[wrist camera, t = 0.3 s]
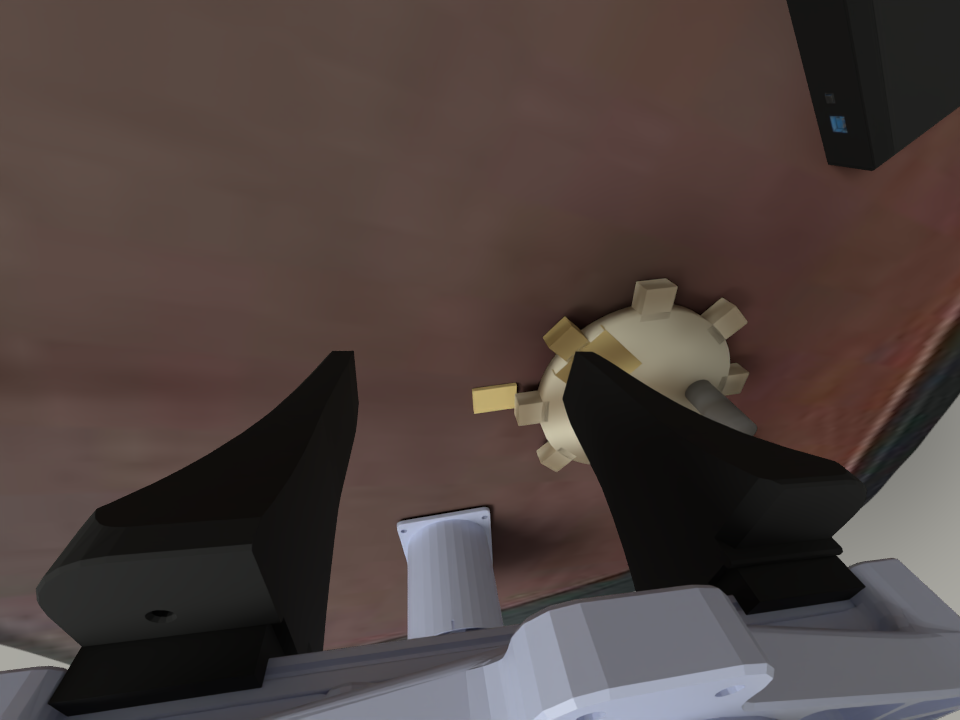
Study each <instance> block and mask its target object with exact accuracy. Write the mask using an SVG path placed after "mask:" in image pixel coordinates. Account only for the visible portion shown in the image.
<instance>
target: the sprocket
mask: <svg viewBox="0 0 960 720" xmlns="http://www.w3.org/2000/svg"><path fill="white" fill-rule="evenodd" d="M677 288H678V286H676V285H675V284H673V283H672V282H670V281H669V280H668V279H666V278H664V279H655V280H646V281H637V282H636V286H635V291H634V296H633V301H632V306H630V307H627V308H624V309H620V310H617V311H615V312H613V313H610V314H608V315H605V316H603V317H602V318H600V319H598V320H596V321H594V322H592V323H591V324H589V325H588V326H586V327H585V328H583V329H582V330H580V329H579V328H578V327H577V326H575V325H574V324H573V323H572V322H571V321H570V320H569V319H567V318H566V317H565V316H564V317H563V318H562V319H561V320H560V321H559V322H558V323H557V324H556V325H555V326H554V327H553V328H552V329H551V330H550V331H549V332H548V333H547V334H546V335H545V336H544V337H543V339H544V340H545V342H546V344H547V346H548V347H549V348H550V349H551V350H552V351H553V352H555V353H556V355H555V356H554V358H553V359H552V360H551V362H550V363H549V365H548V367H547V368H546V370H545V372H544V374H543V377H542V379H541V381H540V384H539V388H538V391H531V392H523V393H516V394H515V417H516V419H517V422H518V425H519V426H522V425H529V424H536V423H540V424H541V426H542V429H543V431H544V433H545V436H546V438H547V440H548V442H547V443H546V444H544V445H543V446H542V447H541V448H539V449H538V450H537V454H538V457H539V460H540V462H541V464H543V465H545V466H546V467H548V468H550V469H552V470H554V471H556V472H557V471H559V470H560V469H561V468H563V467H564V466H565V465H566V464H568V463H569V462H570V461H571V460H574V461H577V462H580V463H585V464H590V462H589V460H588V458H587V456H586V455H585V453H584V451H583V449H582V447H581V445H580V443H579V441H578V439H577V437H576V434H575V432H574V430H573V428H572V426H571V424H570V421H569V419H568V416H567V413H566V410H565V406H564V403H563V400H562V398H563V394H564V390H565V387H566V383H567V380H568V376H569V373H570V369H571V366H572V362H573V358H574V355H575V351H586V352H594V353H596V354H598V355H600V356H602V357H603V358H605V359H607V360H608V361H610V362H611V363H613V364H615V365H616V366H618V367H619V368H621V369H622V370H624V371H625V372H627V373H628V374H630V375H632V376H633V377H635V378H636V379H638V380H639V381H641V382H643V383H644V384H646V385H647V386H649V387H651V388H652V389H654V390H656V391H657V392H659V393H661V394H663V395H664V396H666V397H668V398H670V399H671V400H673V401H675V402H677V403H679V404H681V405H682V406H684V407H686V408H688V409H690V410H693V411H695V412H697V413H699V414H701V415H703V416H705V417H707V418H709V419H711V420H714V421H716V422H718V423H721V424H723V425H726V426H728V427H730V428H733V429H735V430H738V431H740V432H743V433H746V434H748V435H751V436H753V435H754V434H755V433H756V431H757V426H756V425H755V424H754V423H753V422H752V421H751V420H750V419H749V418H748V417H747V416H746V415H745V414H744V413H742V412H741V411H740V410H739V409H738V408H737V407H736V406H735V405H734V404H733V403H732V402H731V401H730V400H728V399H727V398H726V397H725V395H732V394H739V393H741V390H742V388H743V386H744V384H745V381H746V379H747V377H748V375H749V372H748V371H746V370H745V369H744V368H743V367H741V366H740V365H739V364H738V363H732V364H730V354H729V348H728V346H727V343H726V339H727V338H729V337H730V336H731V335H733V334H734V333H735V332H736V331H738V330H739V329H740V328H742V327H743V326H744V325H745V324H747V323H748V322H747V321H746V319H745V318H744V316H743V315H742V314H741V312H740V311H739V310H738V308H737V307H736V306H735V305H733V304H732V303H730V302H729V301H727V300H725V299H724V298H721V299H720V300H718V301H717V302H716V303H715V304H714V305H712V306H711V307H710V308H709V309H708V310H706V311H705V312H704V313H703V314H701V315H699V314H697V313H696V312H694V311H693V310H690V309H688V308H685V307H683V306H679V305H675V304H673V303H674V299H675V295H676V292H677Z"/></svg>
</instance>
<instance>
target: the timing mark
mask: <svg viewBox="0 0 960 720" xmlns="http://www.w3.org/2000/svg"><path fill="white" fill-rule="evenodd" d="M472 393H473V406H474V414H475V413H482V412H489V411H496V410H503V409H510V408H515V394H516V393H517V385H516V383H510V384H503V385H495V386H488V387H481V388H473V389H472Z"/></svg>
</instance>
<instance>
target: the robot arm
mask: <svg viewBox="0 0 960 720" xmlns="http://www.w3.org/2000/svg"><path fill="white" fill-rule="evenodd" d="M562 400H563V403H564V406H565V410H566V413H567V416H568V419H569V421H570V424H571V426H572V428H573V430H574V432H575V434H576V437H577V439H578V441H579V443H580V445H581V447H582V449H583V451H584V453H585V455H586V456H587V458H588V460H589V462H590V464H591V466H592V468H593V470H594V472H595V474H596V476H597V478H598V481H599V483H600V485H601V487H602V490H603V492H604V495H605V497H606V500H607V503H608V505H609V508H610V511H611V514H612V516H613V519H614V522H615V525H616V528H617V531H618V534H619V537H620V540H621V543H622V546H623V549H624V552H625V556H626V559H627V562H628V566H629V569H630V572H631V576H632V579H633V583H634V587H635V590H636V592H630V593H623V594H615V595H607V596H599V597H591V598H584V599H576V600H572V601H568V602H564V603H560V604H556V605H552V606H548V607H546V608H545V609H543V610H541V611H539V612H537V613H535V614H533V615H531V616H529V617H527V618H526V619H525V620H524V621H523V623H522V624H517V625H509V626H503V620H502V615H501V609H500V604H499V598H498V593H497V587H496V582H495V577H494V571H493V566H492V564H493V558H492V539H491V520H490V510H489V508H488V507H480V508H474V509H468V510H463V511H457V512H451V513H445V514H439V515H433V516H427V517H421V518H415V519H409V520H403V521H400V522H398V523H397V530H398V533H399V537H400V540H401V543H402V547H403V550H404V553H405V557H406V560H407V563H408V639H407V640H400V641H392V642H385V643H378V644H371V645H363V646H356V647H349V648H341V649H334V650H327V651H323V643H324V633H325V622H326V611H327V602H328V592H329V582H330V573H331V564H332V556H333V547H334V539H335V531H336V523H337V515H338V508H339V502H340V497H341V492H342V488H343V484H344V480H345V475H346V471H347V467H348V463H349V459H350V454H351V450H352V446H353V442H354V437H355V433H356V425H357V416H358V405H359V401H358V391H357V380H356V370H355V359H354V351H332V352H331V353H330V354H329V355H328V356H327V357H326V358H325V359H324V360H323V361H322V363H321V364H320V365H319V366H318V367H317V368H316V369H315V370H314V371H313V372H312V373H311V374H310V375H309V377H308V378H307V379H306V380H305V381H304V382H303V383H302V384H301V385H300V386H299V387H298V388H297V389H296V390H295V391H293V392H292V393H291V394H290V395H289V396H288V397H287V398H286V399H285V400H284V401H282V402H281V403H280V404H279V405H278V406H277V407H276V408H275V409H273V410H272V411H271V412H270V413H269V414H267V415H266V416H265V417H264V418H262V419H261V420H260V421H258V422H257V423H255V424H254V425H253V426H251V427H250V428H249V429H247V430H246V431H244V432H243V433H241V434H240V435H238V436H237V437H235V438H233V439H232V440H230V441H229V442H227V443H226V444H224V445H222V446H221V447H219V448H218V449H216V450H214V451H213V452H211V453H210V454H208V455H206V456H204V457H203V458H201V459H199V460H197V461H196V462H194V463H192V464H190V465H188V466H186V467H185V468H183V469H181V470H179V471H177V472H175V473H173V474H171V475H169V476H167V477H165V478H163V479H161V480H159V481H157V482H155V483H153V484H151V485H149V486H147V487H144V488H142V489H140V490H138V491H136V492H133V493H131V494H129V495H127V496H125V497H122V498H120V499H118V500H116V501H114V502H111V503H109V504H107V505H104V506H102V507H100V508H97V509H96V510H95V512H94V513H93V514H92V515H91V516H90V517H89V519H88V520H87V521H86V522H85V524H84V525H83V526H82V527H81V528H80V530H79V531H78V532H77V534H76V535H75V536H74V537H73V539H72V540H71V541H70V543H69V544H68V545H67V547H66V548H65V549H64V551H63V552H62V553H61V555H60V556H59V557H58V559H57V560H56V561H55V562H54V564H53V565H52V566H51V568H50V569H49V570H48V572H47V573H46V574H45V576H44V577H43V578H42V580H41V582H40V583H39V585H38V586H37V588H36V595H37V601H38V604H39V605H40V607H41V608H42V609H43V611H44V612H45V613H46V615H47V616H48V617H49V618H51V619H52V620H53V621H54V622H55V623H56V624H57V625H58V626H60V627H61V628H62V629H63V630H64V631H65V632H66V633H67V634H68V635H70V636H71V637H72V638H73V639H74V640H75V641H76V642H77V643H79V644H80V645H81V646H82V647H81V649H80V650H79V652H78V654H77V655H76V657H75V659H74V660H73V662H72V664H71V665H70V667H69V669H68V670H67V669H64V668H60V667H53V666H41V667H31V668H24V669H15V670H7V671H0V720H937V719H939V718H941V717H944V716H946V715H948V714H951V713H953V712H956V711H958V710H960V617H959V615H957V614H956V613H955V612H954V611H953V610H952V609H951V608H950V607H949V606H948V605H947V604H946V603H944V602H943V601H942V600H941V599H940V598H939V597H938V596H937V595H936V594H935V593H934V592H933V591H932V590H930V589H929V588H928V587H927V586H926V585H925V584H924V583H923V582H922V581H921V580H920V579H919V578H918V577H916V576H915V575H914V574H913V573H912V572H911V571H910V570H909V569H908V568H907V567H906V566H905V565H903V564H902V563H901V562H900V561H899V560H898V559H895V558H888V559H880V560H872V561H864V562H860V563H856V564H854V565H852V566H849V567H847V566H846V565H845V564H844V563H843V562H842V561H841V560H840V559H839V558H838V557H837V556H836V555H840V554H841V553H842V552H843V550H842V548H841V546H840V545H839V544H838V543H837V542H836V541H835V540H834V539H833V538H832V536H833V535H834V534H835V533H836V532H837V531H838V530H839V529H840V528H842V527H843V526H844V525H845V524H846V523H847V522H848V521H849V520H850V519H851V518H852V517H853V516H854V515H855V514H856V513H857V512H858V511H859V510H860V508H861V507H862V506H863V504H864V502H865V500H866V494H867V488H866V487H865V485H864V484H863V483H862V482H861V481H860V480H859V479H857V478H856V477H855V476H854V475H853V474H851V473H850V472H849V471H848V470H847V469H845V468H844V467H843V466H841V465H840V464H839V463H837V462H835V461H832V460H829V459H825V458H822V457H818V456H815V455H811V454H807V453H804V452H800V451H797V450H793V449H790V448H786V447H783V446H780V445H777V444H774V443H771V442H768V441H765V440H762V439H759V438H756V437H754V436H751V435H748V434H746V433H743V432H740V431H738V430H735V429H733V428H730V427H728V426H726V425H723V424H721V423H718V422H716V421H714V420H711V419H709V418H707V417H705V416H703V415H701V414H699V413H697V412H695V411H693V410H690V409H688V408H686V407H684V406H682V405H681V404H679V403H677V402H675V401H673V400H671V399H670V398H668V397H666V396H664V395H663V394H661V393H659V392H657V391H656V390H654V389H652V388H651V387H649V386H647V385H646V384H644V383H643V382H641V381H639V380H638V379H636V378H635V377H633V376H632V375H630V374H628V373H627V372H625V371H624V370H622V369H621V368H619V367H618V366H616V365H615V364H613V363H611V362H610V361H608V360H607V359H605V358H603V357H602V356H600V355H598V354H596V353H594V352H586V351H575V355H574V358H573V362H572V366H571V369H570V373H569V376H568V380H567V383H566V387H565V390H564V394H563V398H562Z"/></svg>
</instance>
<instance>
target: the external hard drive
mask: <svg viewBox="0 0 960 720" xmlns="http://www.w3.org/2000/svg"><path fill="white" fill-rule="evenodd" d="M787 4H788V8H789V12H790V16H791V20H792V24H793V28H794V32H795V36H796V40H797V44H798V48H799V52H800V55H801V59H802V63H803V67H804V71H805V75H806V79H807V83H808V87H809V91H810V95H811V99H812V103H813V107H814V111H815V115H816V118H817V122H818V126H819V130H820V134H821V138H822V142H823V146H824V150H825V154H826V158H827V162H828V164H829V165H836V166H843V167H849V168H856V169H863V170H869V171H873V170H875V169H876V168H878V167H879V166H880V165H882V164H883V163H884V162H886V161H887V160H888V159H890V158H891V157H892V156H894V155H895V154H896V153H898V152H899V151H900V150H902V149H903V148H904V147H906V146H907V145H908V144H910V143H911V142H912V141H914V140H915V139H916V138H918V137H919V136H920V135H922V134H923V133H924V132H926V131H927V130H928V129H930V128H931V127H932V126H934V125H935V124H937V123H938V122H939V121H941V120H942V119H943V118H945V117H946V116H947V115H949V114H950V113H951V112H953V111H954V110H955V109H957V108H958V107H959V106H960V0H787Z"/></svg>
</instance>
